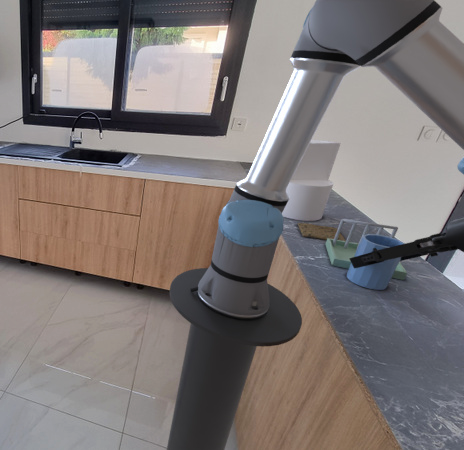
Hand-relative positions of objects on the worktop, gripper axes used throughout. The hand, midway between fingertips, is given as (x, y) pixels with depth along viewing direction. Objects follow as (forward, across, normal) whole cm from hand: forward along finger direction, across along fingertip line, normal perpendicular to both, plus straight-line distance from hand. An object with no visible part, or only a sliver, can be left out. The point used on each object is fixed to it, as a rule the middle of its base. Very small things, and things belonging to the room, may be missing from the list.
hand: (373, 260), depth 81 cm
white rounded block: (+36, +24, +27) cm, 51 cm away
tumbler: (+4, 0, -5) cm, 6 cm away
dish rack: (+10, +10, +2) cm, 14 cm away
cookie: (+23, +16, +14) cm, 31 cm away
